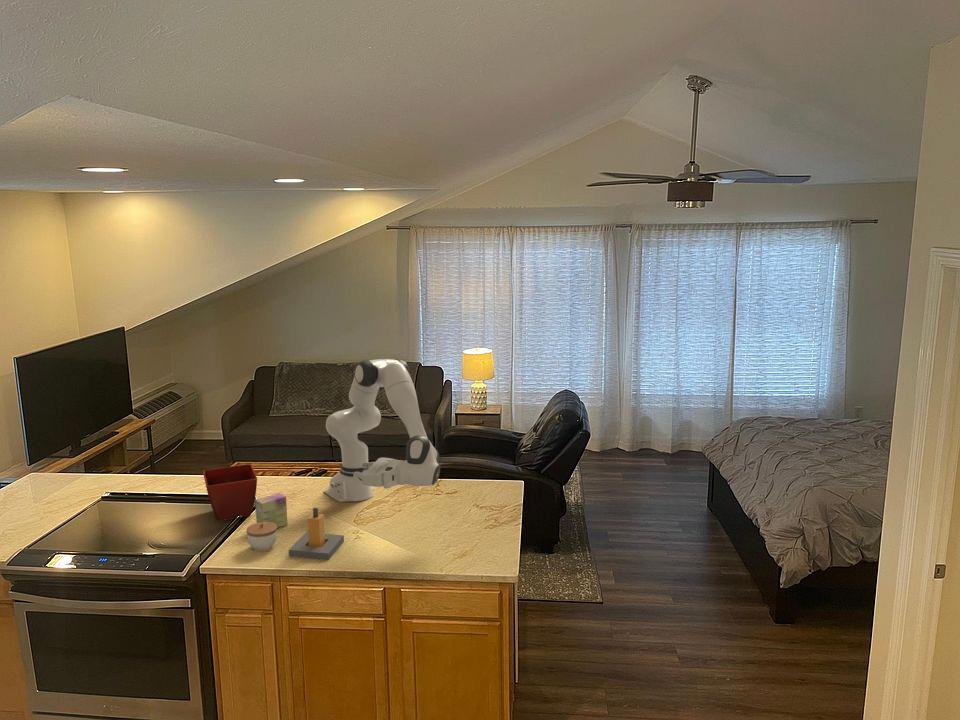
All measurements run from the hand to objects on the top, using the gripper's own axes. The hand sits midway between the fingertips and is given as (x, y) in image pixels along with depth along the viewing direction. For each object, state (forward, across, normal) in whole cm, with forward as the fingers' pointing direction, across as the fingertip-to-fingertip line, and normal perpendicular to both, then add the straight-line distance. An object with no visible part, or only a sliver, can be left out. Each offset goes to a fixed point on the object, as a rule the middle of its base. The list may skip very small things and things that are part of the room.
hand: (358, 469), depth 268 cm
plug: (+13, +9, +27) cm, 32 cm away
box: (+38, -6, +28) cm, 48 cm away
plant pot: (+60, -14, +28) cm, 68 cm away
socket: (+13, +9, +28) cm, 32 cm away
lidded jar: (+33, +12, +28) cm, 45 cm away
